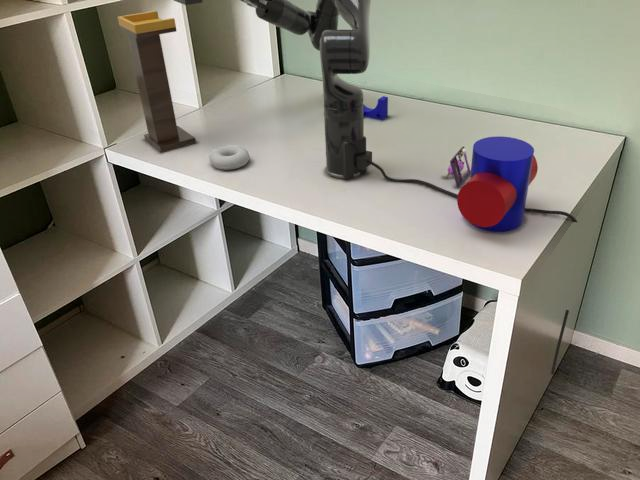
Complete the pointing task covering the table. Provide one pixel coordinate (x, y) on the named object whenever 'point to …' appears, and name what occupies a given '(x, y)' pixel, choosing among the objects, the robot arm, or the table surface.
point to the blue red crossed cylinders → (498, 183)
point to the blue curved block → (378, 109)
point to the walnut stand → (156, 91)
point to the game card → (458, 167)
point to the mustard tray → (145, 22)
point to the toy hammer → (188, 1)
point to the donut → (229, 157)
